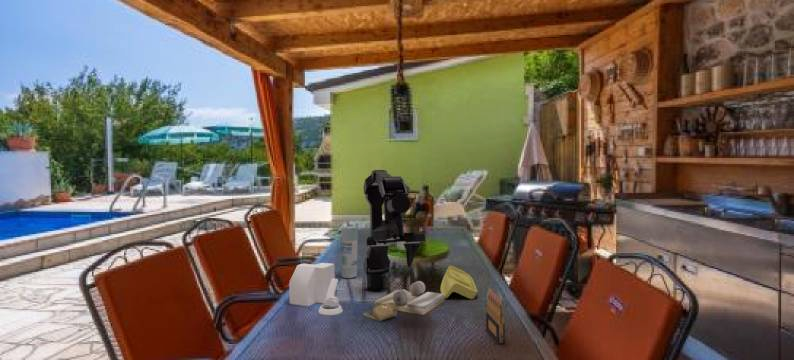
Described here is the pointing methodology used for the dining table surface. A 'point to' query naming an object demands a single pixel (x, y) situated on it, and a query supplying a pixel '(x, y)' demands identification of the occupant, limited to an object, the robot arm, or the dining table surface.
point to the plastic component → (458, 283)
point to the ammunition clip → (495, 318)
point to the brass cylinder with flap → (382, 312)
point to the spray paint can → (349, 251)
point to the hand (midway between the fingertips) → (396, 267)
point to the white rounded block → (310, 283)
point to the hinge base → (413, 299)
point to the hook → (331, 301)
